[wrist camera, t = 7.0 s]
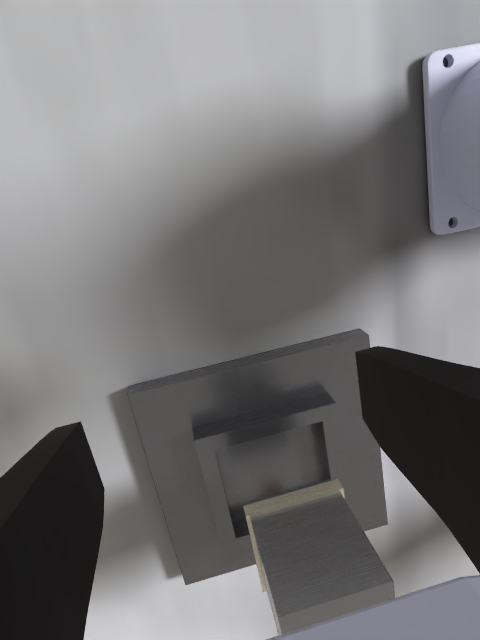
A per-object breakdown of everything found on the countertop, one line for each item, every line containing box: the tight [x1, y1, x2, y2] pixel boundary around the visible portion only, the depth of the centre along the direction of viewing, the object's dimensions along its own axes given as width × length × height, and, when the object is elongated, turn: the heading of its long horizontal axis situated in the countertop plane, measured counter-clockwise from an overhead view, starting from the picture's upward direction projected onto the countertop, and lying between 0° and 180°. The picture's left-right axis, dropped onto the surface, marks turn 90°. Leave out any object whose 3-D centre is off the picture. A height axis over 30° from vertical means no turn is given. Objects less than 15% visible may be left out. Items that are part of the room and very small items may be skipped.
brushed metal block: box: [243, 478, 395, 635], centre depth 17 cm, size 4×4×5 cm
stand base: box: [128, 329, 388, 585], centre depth 22 cm, size 12×12×4 cm
